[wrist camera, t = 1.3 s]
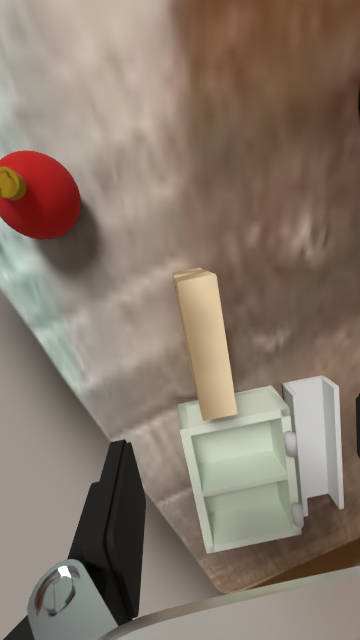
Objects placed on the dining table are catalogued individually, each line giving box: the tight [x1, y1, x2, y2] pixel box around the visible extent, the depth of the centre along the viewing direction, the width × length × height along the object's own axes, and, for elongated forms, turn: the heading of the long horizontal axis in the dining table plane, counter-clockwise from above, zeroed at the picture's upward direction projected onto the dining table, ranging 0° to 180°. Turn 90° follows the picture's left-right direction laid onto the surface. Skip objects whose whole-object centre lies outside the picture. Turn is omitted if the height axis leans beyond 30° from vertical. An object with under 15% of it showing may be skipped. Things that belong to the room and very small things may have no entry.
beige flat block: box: [173, 268, 237, 421], centre depth 26 cm, size 3×12×10 cm, turn 11°
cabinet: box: [178, 375, 344, 554], centre depth 33 cm, size 19×18×6 cm
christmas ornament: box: [0, 151, 81, 239], centre depth 22 cm, size 7×7×10 cm
